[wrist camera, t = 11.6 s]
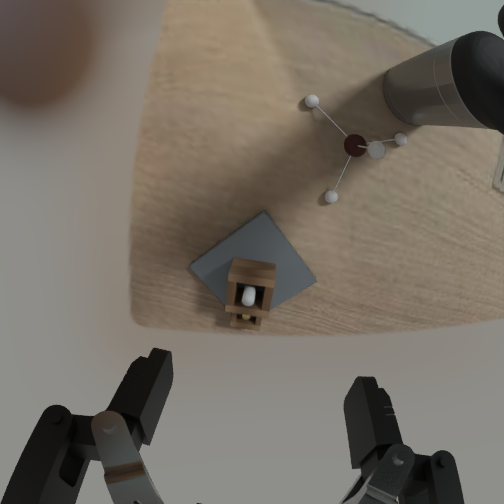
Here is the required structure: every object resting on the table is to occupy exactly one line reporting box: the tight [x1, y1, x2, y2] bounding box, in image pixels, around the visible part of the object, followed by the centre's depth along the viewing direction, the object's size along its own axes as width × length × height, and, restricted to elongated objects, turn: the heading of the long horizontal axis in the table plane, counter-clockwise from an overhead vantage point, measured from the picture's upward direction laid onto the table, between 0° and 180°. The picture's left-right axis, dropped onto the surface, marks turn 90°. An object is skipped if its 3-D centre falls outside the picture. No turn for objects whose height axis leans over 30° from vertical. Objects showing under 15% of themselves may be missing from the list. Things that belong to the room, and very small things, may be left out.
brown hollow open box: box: [225, 257, 276, 331], centre depth 41 cm, size 6×11×5 cm, turn 173°
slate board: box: [189, 210, 317, 318], centre depth 40 cm, size 14×13×7 cm
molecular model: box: [305, 94, 407, 203], centre depth 29 cm, size 13×15×13 cm
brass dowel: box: [242, 314, 250, 320], centre depth 43 cm, size 1×1×2 cm
